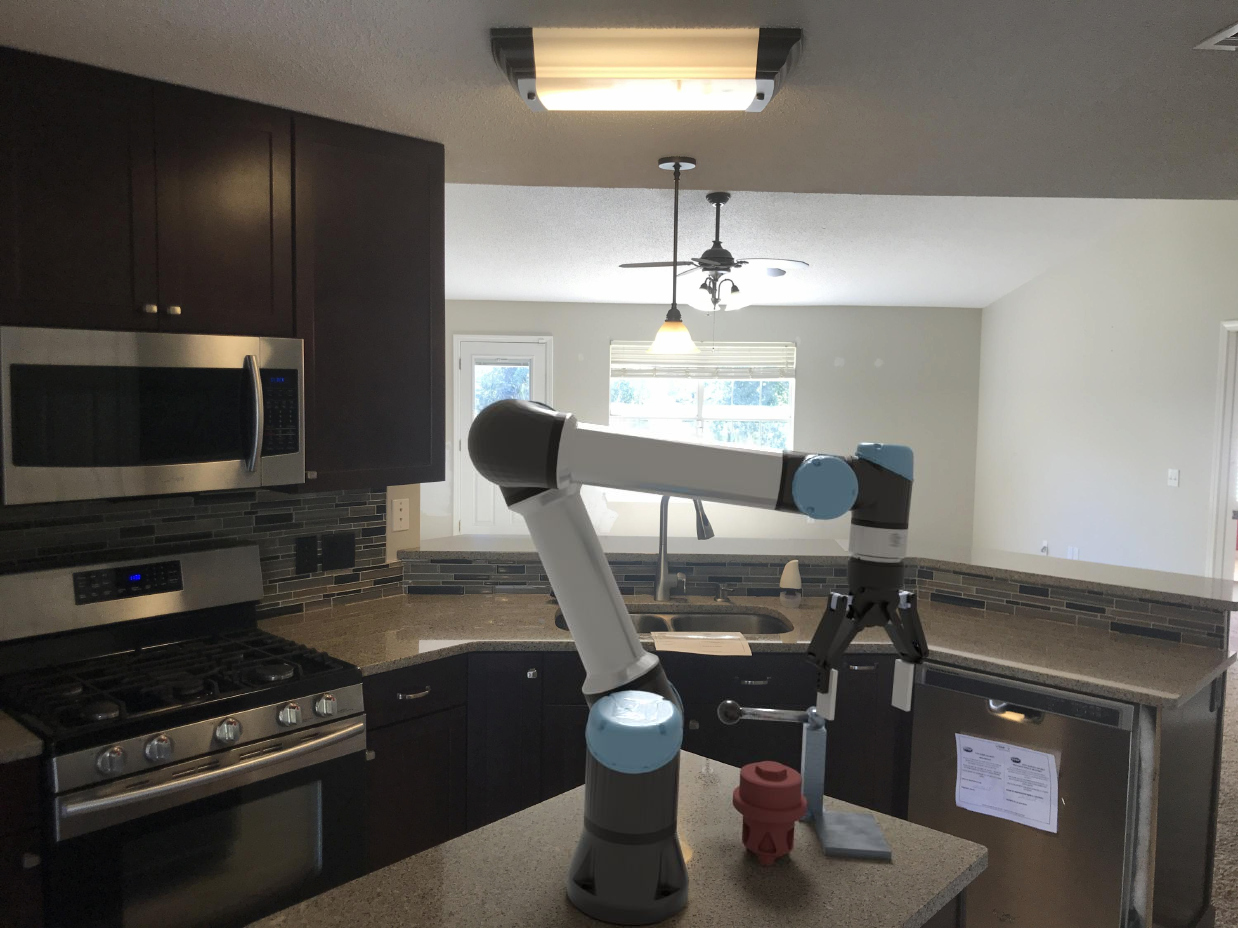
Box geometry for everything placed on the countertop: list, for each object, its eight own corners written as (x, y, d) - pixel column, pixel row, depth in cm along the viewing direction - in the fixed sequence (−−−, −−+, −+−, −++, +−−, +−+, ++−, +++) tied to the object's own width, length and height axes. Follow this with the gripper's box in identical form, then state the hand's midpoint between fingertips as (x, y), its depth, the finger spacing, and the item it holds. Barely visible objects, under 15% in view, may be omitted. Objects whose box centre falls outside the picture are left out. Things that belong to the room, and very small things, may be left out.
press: (808, 853, 116) (813, 757, 116) (793, 807, 131) (798, 721, 130) (891, 860, 115) (896, 763, 115) (867, 812, 130) (871, 726, 130)
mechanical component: (803, 842, 119) (804, 878, 110) (732, 832, 121) (727, 867, 112) (807, 756, 119) (809, 785, 109) (736, 748, 121) (732, 775, 111)
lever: (717, 726, 127) (718, 703, 127) (716, 718, 131) (717, 696, 131) (824, 733, 126) (826, 710, 126) (820, 725, 130) (821, 702, 130)
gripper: (823, 562, 105) (809, 730, 106) (964, 561, 116) (951, 713, 117) (785, 553, 111) (772, 710, 112) (922, 552, 123) (910, 696, 124)
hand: (863, 712), depth 115 cm, fingers open, 13 cm apart
